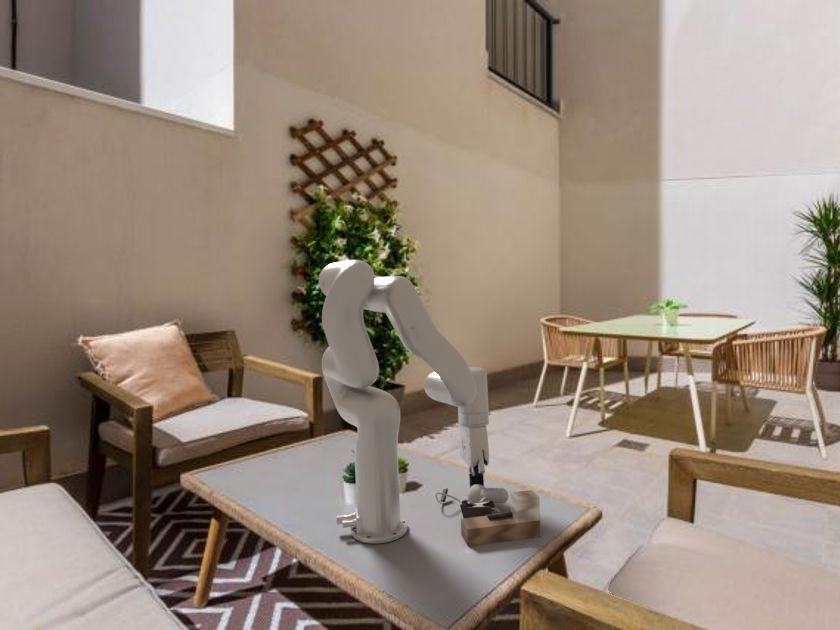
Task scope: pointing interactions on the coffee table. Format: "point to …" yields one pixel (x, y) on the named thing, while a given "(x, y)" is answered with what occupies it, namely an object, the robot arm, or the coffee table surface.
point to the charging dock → (505, 522)
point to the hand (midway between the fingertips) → (477, 489)
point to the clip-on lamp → (479, 500)
